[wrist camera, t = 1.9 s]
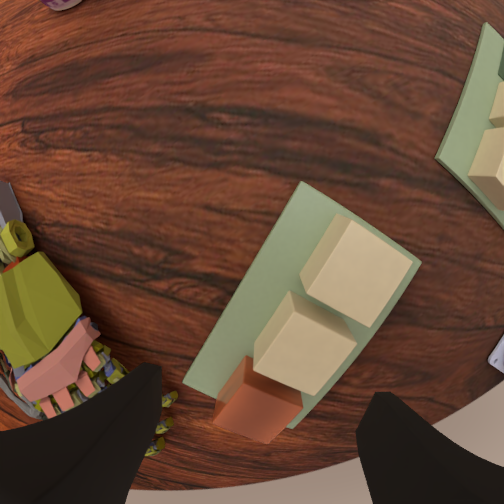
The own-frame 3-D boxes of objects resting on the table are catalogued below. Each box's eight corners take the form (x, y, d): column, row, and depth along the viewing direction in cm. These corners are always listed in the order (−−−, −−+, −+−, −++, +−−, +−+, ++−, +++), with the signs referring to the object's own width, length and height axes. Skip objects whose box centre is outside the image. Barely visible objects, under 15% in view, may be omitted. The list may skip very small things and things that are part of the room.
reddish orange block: (299, 378, 18) (304, 408, 15) (267, 415, 19) (267, 445, 16) (245, 354, 18) (242, 383, 15) (217, 394, 19) (211, 423, 16)
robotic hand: (13, 135, 14) (205, 475, 14) (63, 163, 21) (213, 420, 21) (-63, 233, 13) (85, 506, 13) (-13, 238, 21) (113, 461, 20)
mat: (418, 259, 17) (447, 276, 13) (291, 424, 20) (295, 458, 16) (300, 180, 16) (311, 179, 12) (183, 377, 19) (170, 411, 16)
